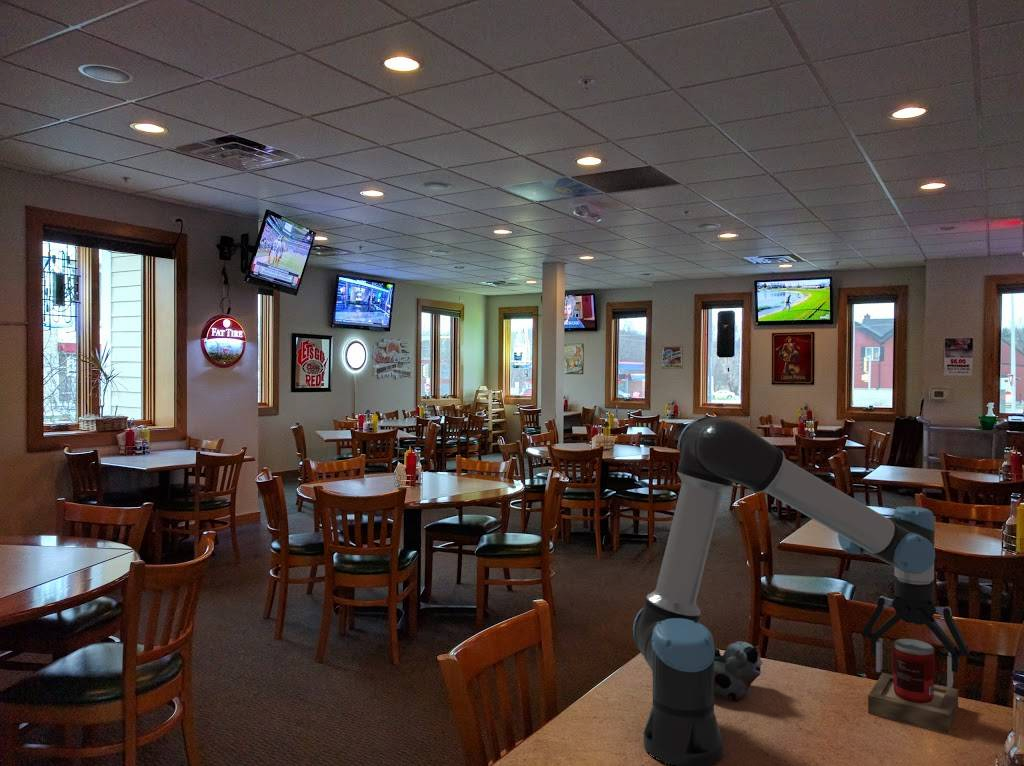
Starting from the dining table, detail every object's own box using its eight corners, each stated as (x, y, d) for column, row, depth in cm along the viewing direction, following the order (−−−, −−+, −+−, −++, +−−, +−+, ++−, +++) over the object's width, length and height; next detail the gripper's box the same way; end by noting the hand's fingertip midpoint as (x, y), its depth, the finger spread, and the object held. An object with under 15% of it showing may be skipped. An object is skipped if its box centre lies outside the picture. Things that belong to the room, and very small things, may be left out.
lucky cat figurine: (704, 673, 179) (731, 623, 179) (748, 705, 172) (777, 653, 172) (685, 676, 166) (714, 622, 166) (732, 711, 159) (763, 655, 159)
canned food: (923, 688, 163) (923, 638, 162) (940, 704, 155) (941, 652, 154) (887, 687, 163) (887, 637, 163) (902, 703, 155) (902, 651, 155)
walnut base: (868, 713, 158) (868, 695, 158) (882, 689, 170) (882, 672, 169) (949, 733, 149) (949, 715, 148) (958, 706, 160) (958, 689, 160)
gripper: (984, 585, 154) (983, 686, 154) (855, 566, 169) (855, 658, 169) (980, 594, 148) (980, 699, 148) (847, 574, 163) (847, 669, 163)
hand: (913, 677), depth 159 cm, fingers open, 13 cm apart
